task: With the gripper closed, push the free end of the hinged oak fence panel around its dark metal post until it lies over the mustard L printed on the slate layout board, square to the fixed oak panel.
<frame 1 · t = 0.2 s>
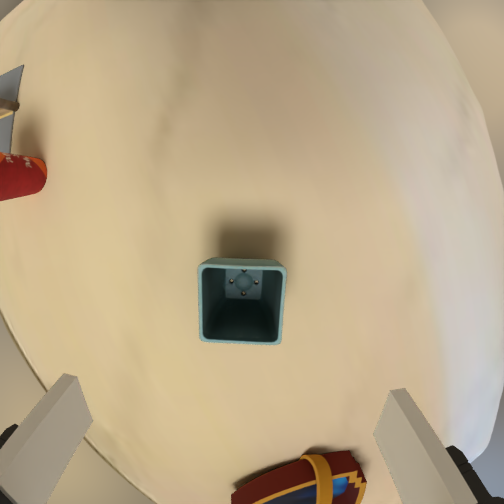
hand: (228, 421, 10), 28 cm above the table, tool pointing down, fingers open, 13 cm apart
paper cup: (35, 176, 35), on the table
decorative basket: (294, 486, 49), on the table
flower pot: (243, 279, 38), on the table
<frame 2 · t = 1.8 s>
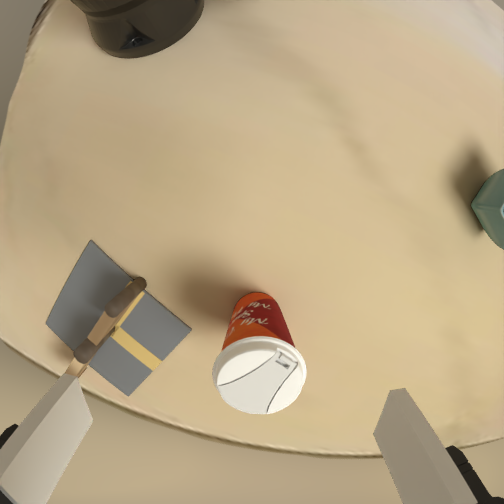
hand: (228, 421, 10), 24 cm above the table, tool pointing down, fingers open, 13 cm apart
fixed fence panel and posts: (109, 325, 35), resting on layout board
hinged fence panel: (79, 365, 32), point 4 cm above the table, hinge at 0.0°
paper cup: (256, 313, 35), on the table
flower pot: (483, 205, 32), on the table
layout board: (108, 327, 35), on the table
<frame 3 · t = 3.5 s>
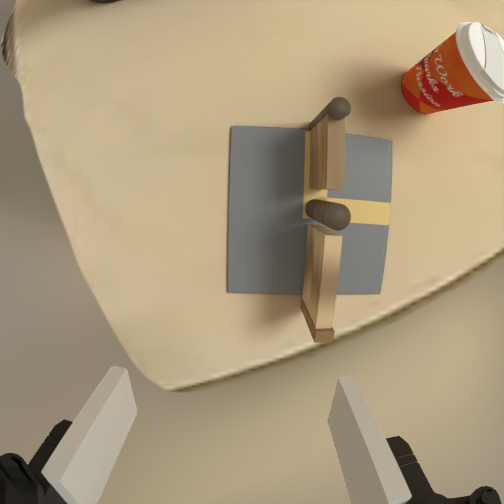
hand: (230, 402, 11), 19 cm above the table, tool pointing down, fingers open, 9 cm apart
fixed fence panel and posts: (314, 208, 29), resting on layout board
hinged fence panel: (319, 278, 26), point 5 cm above the table, hinge at 0.0°
paper cup: (419, 92, 26), on the table
layout board: (313, 213, 29), on the table
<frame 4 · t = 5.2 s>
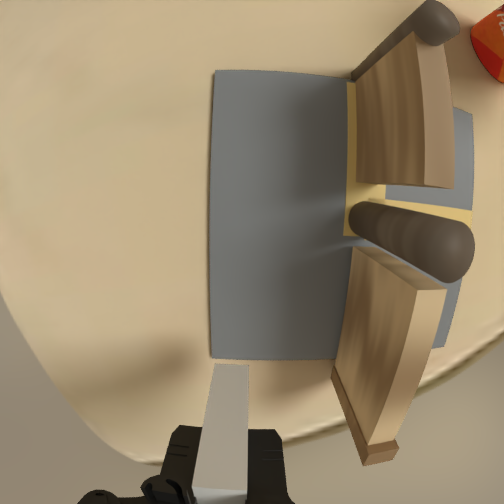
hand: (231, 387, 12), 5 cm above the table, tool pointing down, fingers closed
fixed fence panel and posts: (362, 218, 16), resting on layout board
hinged fence panel: (377, 351, 13), point 4 cm above the table, hinge at 0.0°
paper cup: (492, 54, 13), on the table
layout board: (361, 226, 16), on the table
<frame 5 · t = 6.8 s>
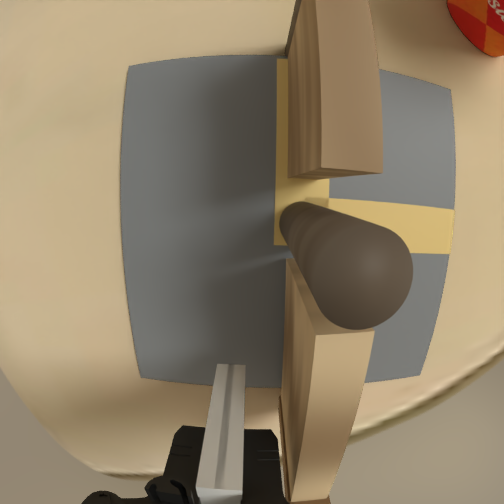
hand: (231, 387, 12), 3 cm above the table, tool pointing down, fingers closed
fixed fence panel and posts: (300, 222, 13), resting on layout board
hinged fence panel: (308, 392, 10), point 5 cm above the table, hinge at 1.8°, touching gripper
paper cup: (475, 24, 10), on the table
layout board: (299, 233, 13), on the table
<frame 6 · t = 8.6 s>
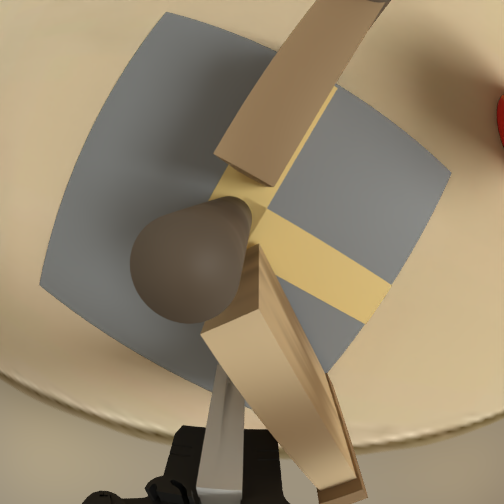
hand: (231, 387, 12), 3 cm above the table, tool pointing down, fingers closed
fixed fence panel and posts: (230, 217, 13), resting on layout board
hinged fence panel: (295, 377, 10), point 5 cm above the table, hinge at 56.7°, touching gripper
layout board: (224, 227, 13), on the table
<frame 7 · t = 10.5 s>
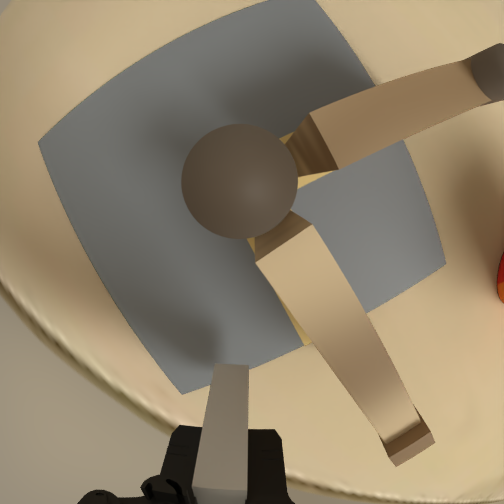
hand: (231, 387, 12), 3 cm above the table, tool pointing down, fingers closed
fixed fence panel and posts: (247, 184, 13), resting on layout board
hinged fence panel: (341, 326, 10), point 5 cm above the table, hinge at 96.8°
layout board: (238, 189, 13), on the table
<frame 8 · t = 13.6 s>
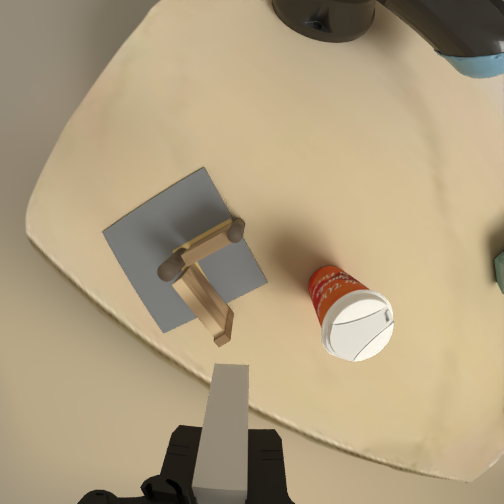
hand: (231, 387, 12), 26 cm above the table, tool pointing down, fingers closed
fixed fence panel and posts: (183, 254, 38), resting on layout board
hinged fence panel: (205, 302, 35), point 5 cm above the table, hinge at 96.8°
paper cup: (327, 285, 39), on the table
flower pot: (501, 263, 39), on the table
layout board: (180, 256, 38), on the table
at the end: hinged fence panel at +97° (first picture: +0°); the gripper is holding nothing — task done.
